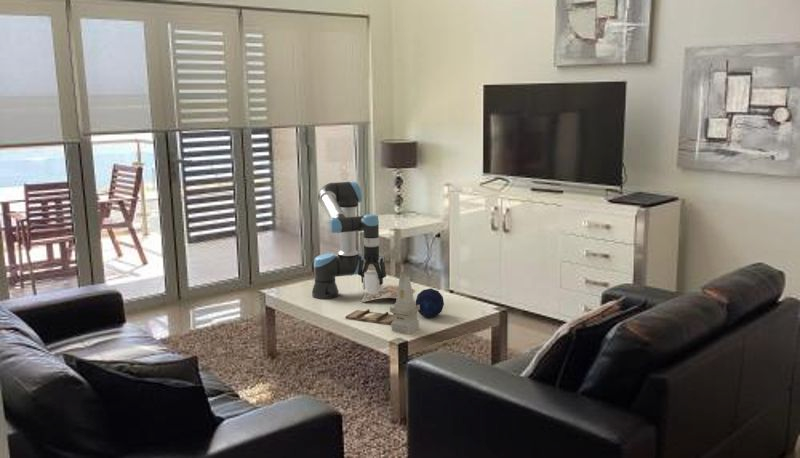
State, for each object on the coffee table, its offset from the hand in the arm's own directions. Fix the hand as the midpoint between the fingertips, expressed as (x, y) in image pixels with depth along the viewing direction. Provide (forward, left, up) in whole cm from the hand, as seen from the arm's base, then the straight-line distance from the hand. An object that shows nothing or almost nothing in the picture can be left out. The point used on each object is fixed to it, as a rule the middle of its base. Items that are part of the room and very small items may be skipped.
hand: (372, 289), depth 351 cm
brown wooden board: (0, 0, -15) cm, 15 cm away
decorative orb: (+25, +15, -15) cm, 33 cm away
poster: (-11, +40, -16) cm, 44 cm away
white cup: (0, 0, -1) cm, 1 cm away
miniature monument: (+23, -10, -15) cm, 29 cm away
